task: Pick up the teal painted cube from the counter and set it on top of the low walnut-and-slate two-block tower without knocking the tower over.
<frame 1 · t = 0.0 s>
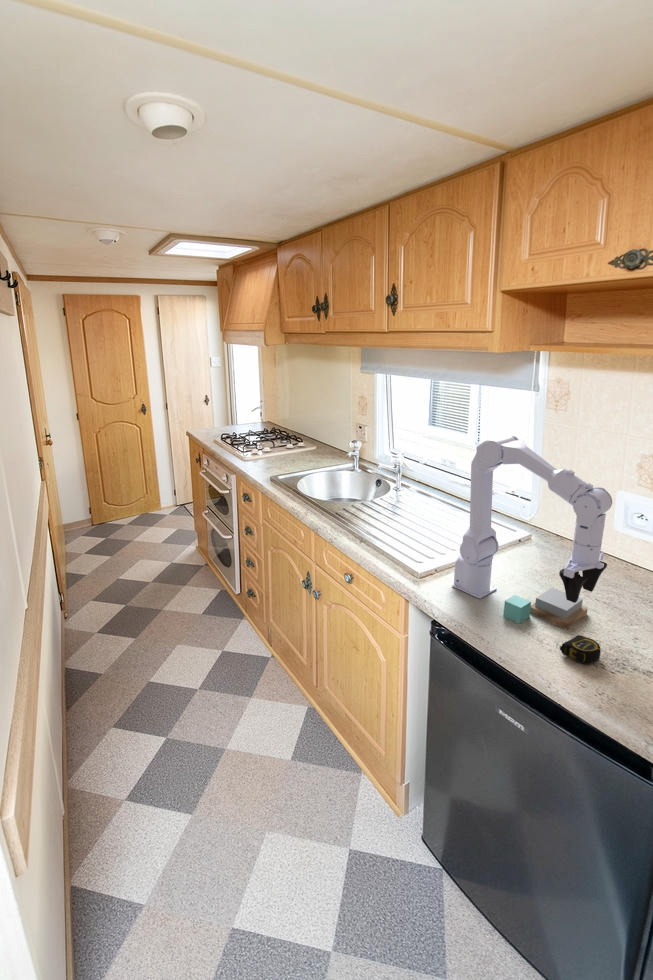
hand: (579, 595, 121), 10 cm above the worktop, fingers open, 7 cm apart
tower top block: (558, 607, 132), point 2 cm above the worktop, touching tower base block
tower base block: (557, 616, 132), on the worktop, touching tower top block
tape measure: (578, 657, 116), on the worktop
teal cube: (516, 616, 131), on the worktop
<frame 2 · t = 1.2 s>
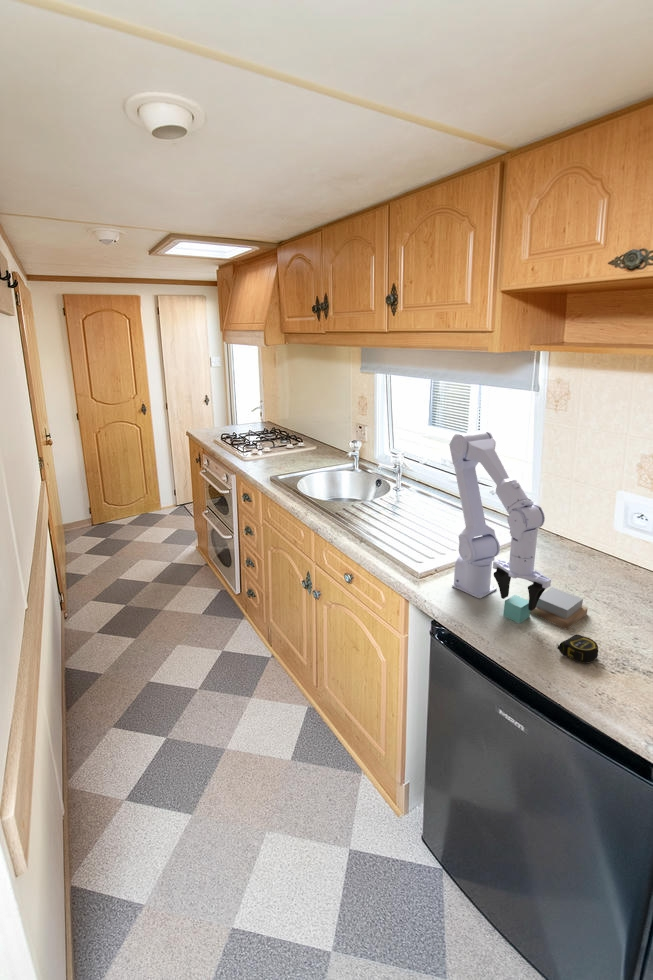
hand: (517, 603, 130), 4 cm above the worktop, fingers open, 7 cm apart
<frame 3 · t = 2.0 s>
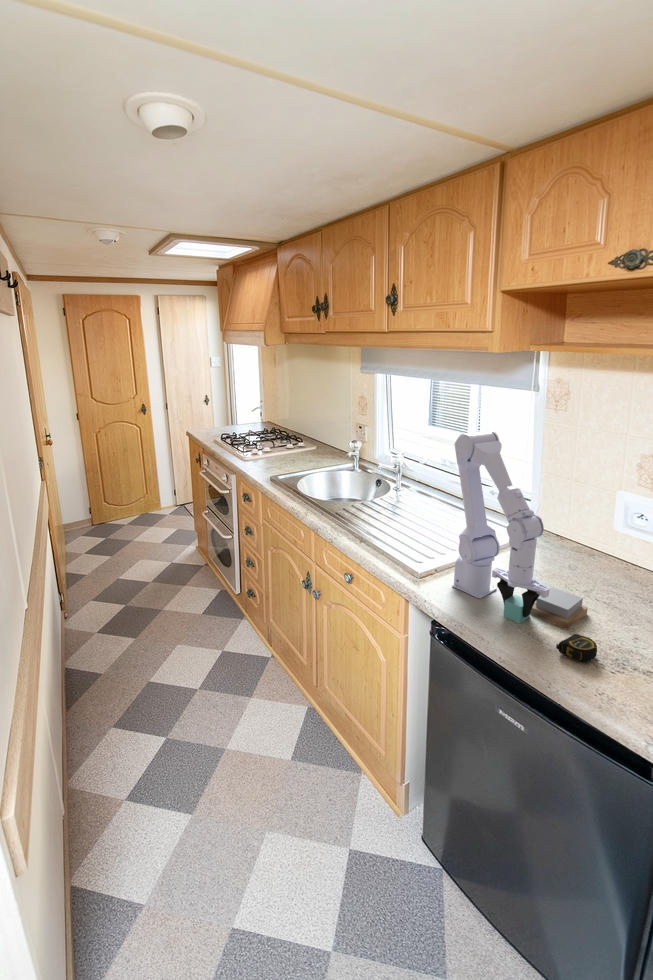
hand: (516, 611, 131), 1 cm above the worktop, fingers closed on teal cube, 4 cm apart
teal cube: (516, 616, 131), on the worktop, touching gripper
everything else where it was.
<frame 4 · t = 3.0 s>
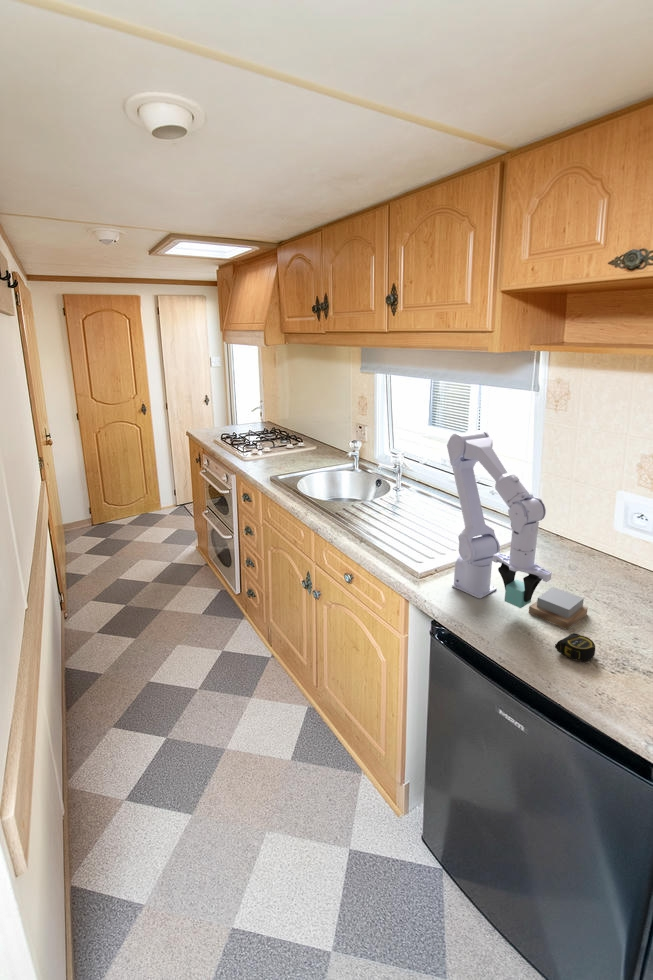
hand: (518, 596, 130), 6 cm above the worktop, fingers closed on teal cube, 4 cm apart
teal cube: (517, 601, 130), point 4 cm above the worktop, touching gripper
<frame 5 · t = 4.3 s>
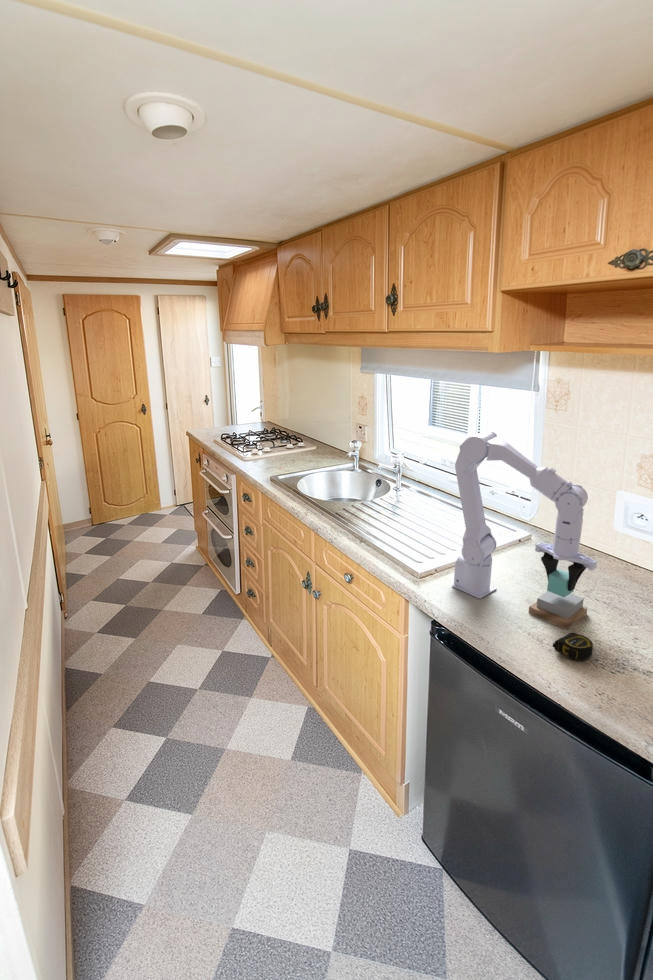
hand: (561, 585, 130), 8 cm above the worktop, fingers closed on teal cube, 4 cm apart
teal cube: (560, 591, 130), point 6 cm above the worktop, touching gripper
when the fingers open (7 cm above the worktop, at t = 4.9 s): teal cube drops 2 cm, point 4 cm above the worktop.
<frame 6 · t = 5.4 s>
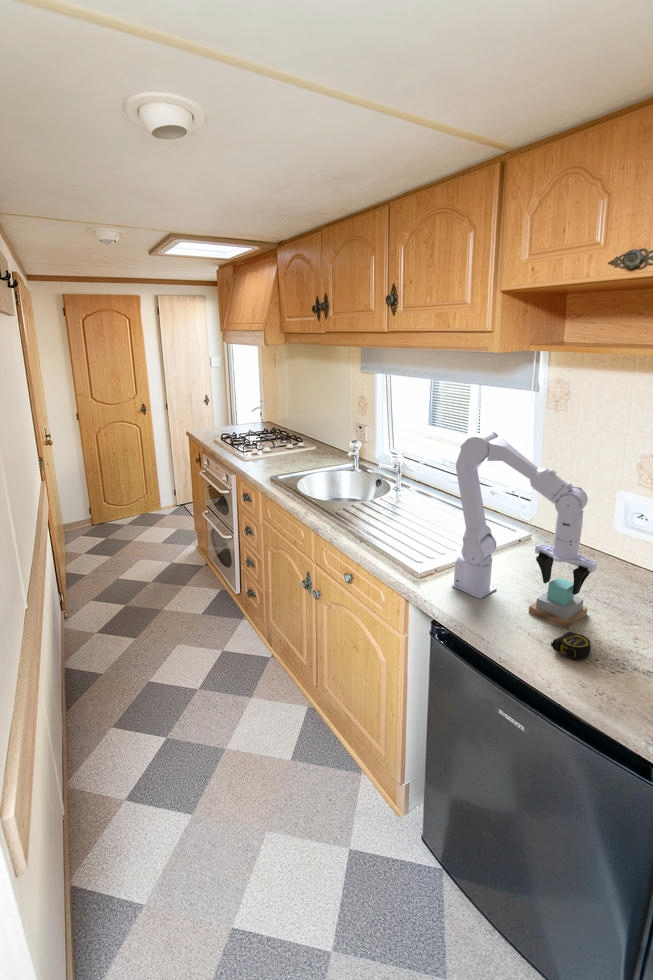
hand: (560, 587, 130), 7 cm above the worktop, fingers open, 7 cm apart
teal cube: (560, 598, 131), point 4 cm above the worktop
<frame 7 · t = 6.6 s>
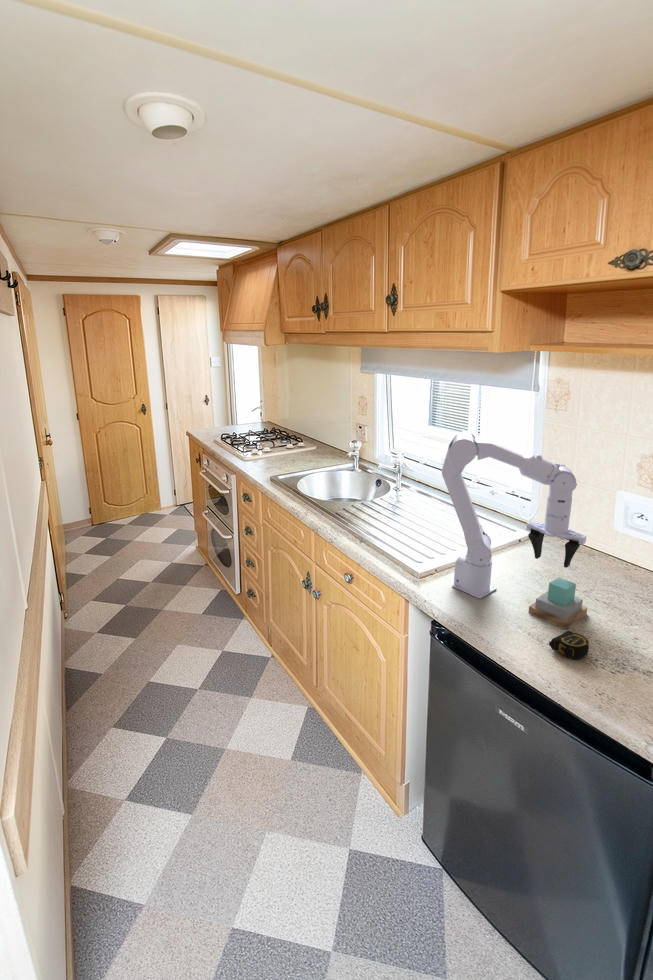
hand: (551, 561, 137), 10 cm above the worktop, fingers open, 7 cm apart
tower top block: (558, 607, 131), point 2 cm above the worktop, touching teal cube, tower base block
teal cube: (560, 599, 131), point 4 cm above the worktop, touching tower top block
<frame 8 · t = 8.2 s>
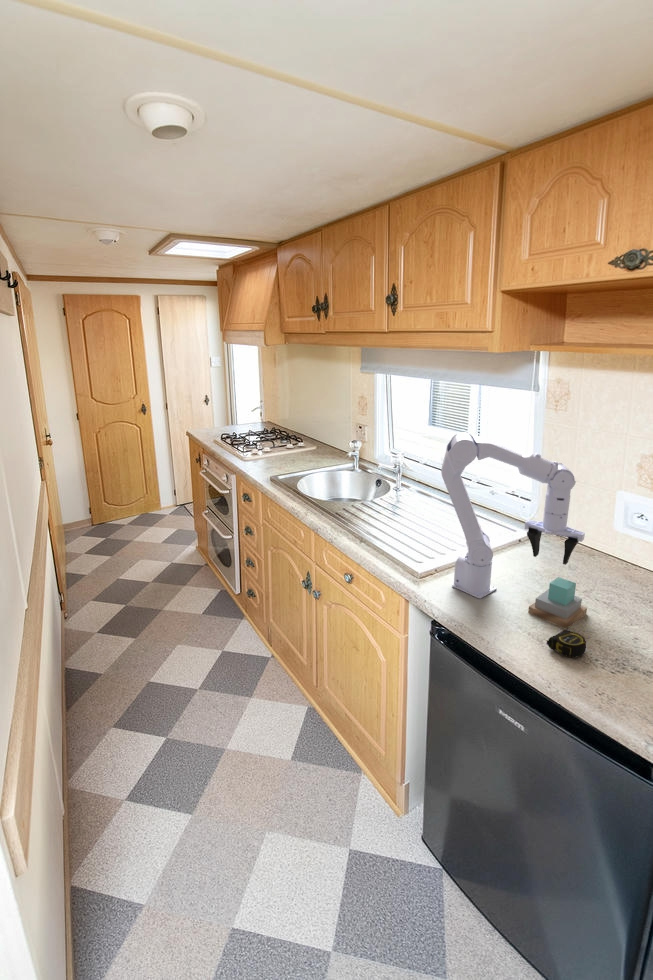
hand: (550, 559, 138), 10 cm above the worktop, fingers open, 7 cm apart
tower top block: (557, 607, 132), point 2 cm above the worktop, touching tower base block
teal cube: (561, 599, 131), point 4 cm above the worktop
at the end: teal cube 0.5 cm off-centre on the tower top block, point 2.5 cm above the tower top block's base; tower top block 0.1 cm off-centre on the tower base block, point 2.5 cm above the tower base block's base; teal cube tilted 1° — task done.
